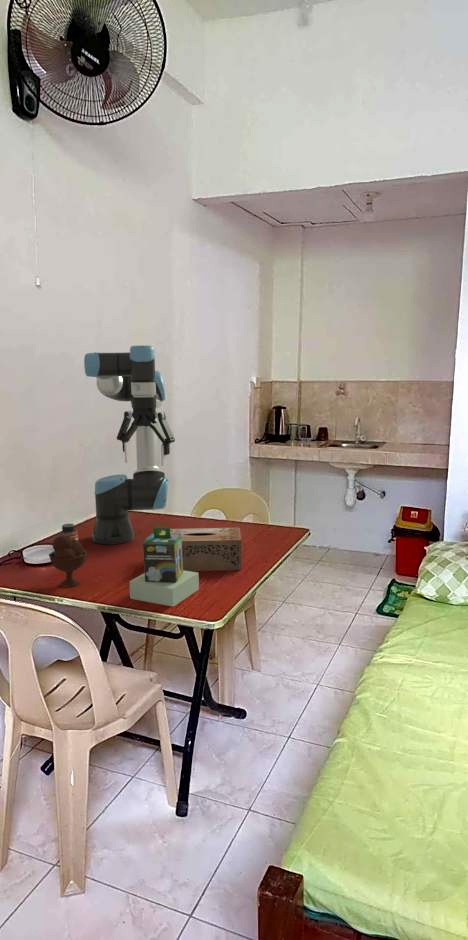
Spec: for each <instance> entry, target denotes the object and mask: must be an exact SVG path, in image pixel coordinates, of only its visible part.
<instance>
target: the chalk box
mask: <svg viewBox="0 0 468 940" xmlns="http://www.w3.org/2000/svg"><path fill="white" fill-rule="evenodd" d="M170 529H171V528H170V527H168V526H153V528H152V530H153V533H151V534H150V535H149V536H147V538H146V539H145V540H144V541H143V542H142V552H143V568H144V570H143V571H144V573H145V582H146V581H151V582H173V583H176V582H177V580H178V579H179V577H180V576H181V574H182V572H183V557H182V539H181V534H177V533H170ZM161 531H165V532H166V533H163V534H161V533H159V532H161Z"/></svg>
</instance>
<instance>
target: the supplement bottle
mask: <svg viewBox="0 0 468 940" xmlns="http://www.w3.org/2000/svg"><path fill="white" fill-rule="evenodd" d="M61 535H65V536H69V537H70V538H72V539H76V540H78V541H79V532H78V531H77V530H76V529H75V524H74V523H64V524H62V526H61V531H60V532H59V536H61Z"/></svg>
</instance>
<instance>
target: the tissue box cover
mask: <svg viewBox="0 0 468 940" xmlns="http://www.w3.org/2000/svg"><path fill="white" fill-rule="evenodd" d="M163 533H166V532H165V531H162V530H160V534H163ZM170 533H177V534H181V539H182V557H183V570H184V571H191V572H205V571H206V572H208V571H209V572H211V571H242V567H243V566H242V565H243V563H242V562H243V559H242V535H241V528H240V527H199V528H195V527H193V528H191V527H190V528H170Z"/></svg>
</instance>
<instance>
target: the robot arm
mask: <svg viewBox="0 0 468 940" xmlns="http://www.w3.org/2000/svg"><path fill="white" fill-rule="evenodd" d="M155 358H156V354H155V348H154V346H153V345H131V346H130V348H129V352H89V353H86V354H85V355H84V358H83V360H84V361H83V363H84V364H83V365H84V373H85V375H86V377H87V378H88V377H89V378H90V377H91V378H92V377H93V378H96V387H97V390H98V391H99V392H100V393H101V394H102V395H103V396H105V397H106V398H108V399H111V400H113V401H119V402H130V406H131V407H132V411H131V410H127V411H124V412H123V419H122V422H121V425H120V428H119V430H118V432H117V435H116V440H117V441H120V442H121V443H122V444H121V445H122V452H123V453H124V463H125V464H128V463H132V462H133V457H132V456H133V454H132V441H131V438H132V437H133V436H134V434H135V444H136V445H135V446H136V448H135V449H136V470H135V471H134V472H133V473H132V478H128V476H127V474H114V475H108V476H104V477H100V478H98V479H97V480H96V481H95V484H94V495H95V496H94V498H95V519H96V520H95V523H94V526H93V527H94V528H93V531H92V541H93V542H94V543H95V542H96V544H99V545H119V544H120V545H121V544H125V543H127V542H131V541H132V540H134V539H135V532H134V531H135V530H134V529H133V527H132V523H131V520H130V517H129V511H150V510H152V511H155V510H163V509H164V508H166V506H167V500H168V493H169V491H168V490H169V482H170V481H169V480H170V479H169V477H168V476H165V472H164V471H163V470H162V469H161V467H164V466H167V465H169V456H168V455H170V451H171V450H170V449H171V448H170V444H172V443H174V442H175V441H176V439H175V436H174V434H173V432H172V430H171V428H170V426H169V423H168V420H167V419H166V417H167V416H166V413H165V412H164V411H160V412H159V408H161V406H162V405H163V403H162V402H165V400H166V391H165V384H164V379H163V375H162V373H161V372H160V370H156V359H155ZM132 418H133V421H132ZM131 421H132V422H131ZM159 425H160V426H159ZM160 442H161V443H162V444H160Z"/></svg>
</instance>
